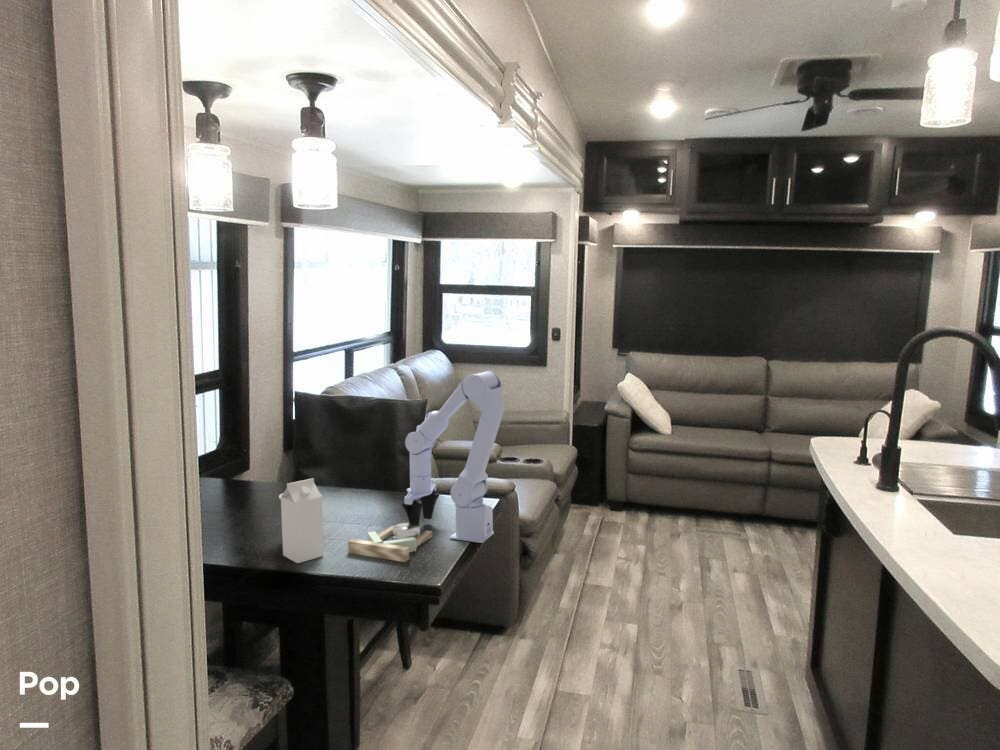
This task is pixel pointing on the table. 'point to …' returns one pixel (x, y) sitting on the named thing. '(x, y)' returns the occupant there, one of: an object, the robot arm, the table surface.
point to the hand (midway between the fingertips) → (421, 522)
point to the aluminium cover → (406, 531)
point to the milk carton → (302, 521)
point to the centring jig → (387, 545)
